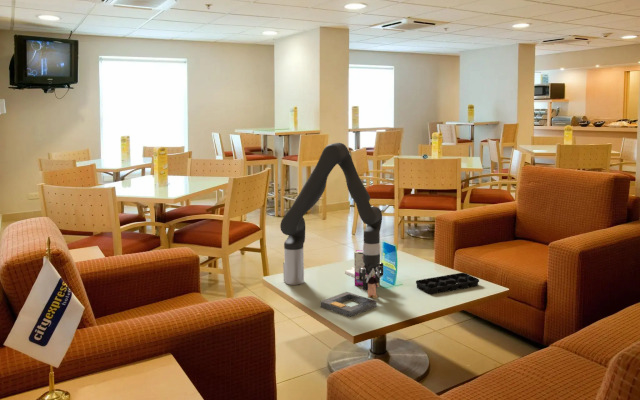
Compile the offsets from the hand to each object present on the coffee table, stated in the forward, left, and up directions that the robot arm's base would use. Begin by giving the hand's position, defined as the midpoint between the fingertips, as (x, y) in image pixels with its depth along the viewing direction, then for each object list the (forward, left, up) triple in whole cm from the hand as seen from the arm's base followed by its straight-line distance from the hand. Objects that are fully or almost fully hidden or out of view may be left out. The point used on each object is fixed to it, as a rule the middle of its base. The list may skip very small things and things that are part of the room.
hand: (371, 287), depth 243 cm
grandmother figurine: (0, 0, -4) cm, 4 cm away
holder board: (+1, -16, -4) cm, 17 cm away
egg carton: (+17, +35, -5) cm, 39 cm away
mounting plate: (-24, +22, -5) cm, 33 cm away
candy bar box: (-12, +11, -4) cm, 17 cm away
